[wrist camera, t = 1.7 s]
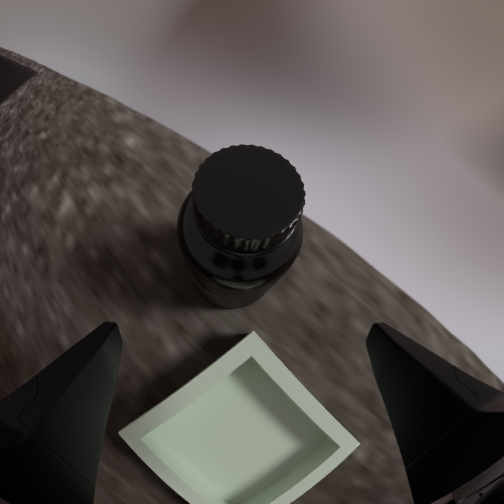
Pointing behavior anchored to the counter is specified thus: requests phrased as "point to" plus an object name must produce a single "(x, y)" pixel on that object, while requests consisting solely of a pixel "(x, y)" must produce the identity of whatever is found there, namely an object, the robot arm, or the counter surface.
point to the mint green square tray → (240, 432)
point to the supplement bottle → (241, 224)
